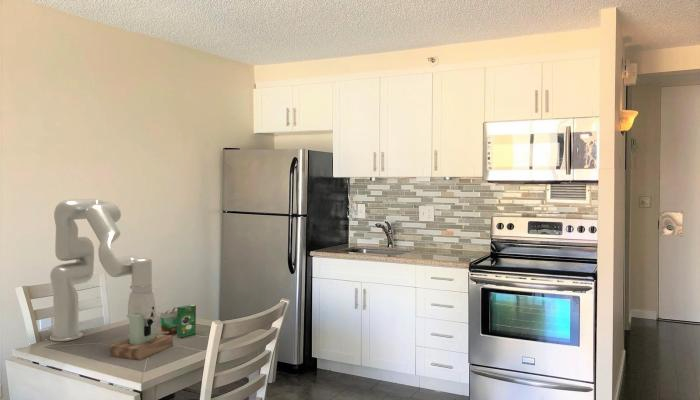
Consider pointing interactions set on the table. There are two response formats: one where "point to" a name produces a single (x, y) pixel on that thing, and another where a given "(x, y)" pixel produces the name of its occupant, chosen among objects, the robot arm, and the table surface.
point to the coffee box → (186, 320)
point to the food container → (169, 322)
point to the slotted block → (141, 347)
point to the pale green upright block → (139, 330)
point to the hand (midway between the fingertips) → (142, 334)
